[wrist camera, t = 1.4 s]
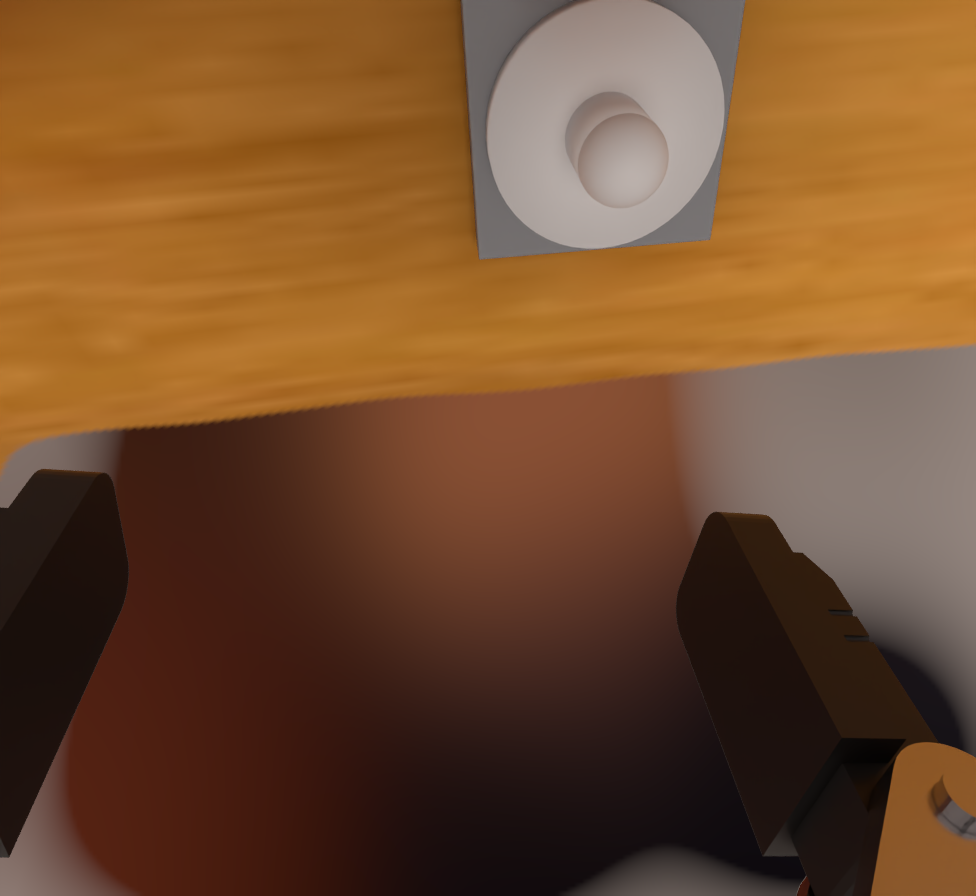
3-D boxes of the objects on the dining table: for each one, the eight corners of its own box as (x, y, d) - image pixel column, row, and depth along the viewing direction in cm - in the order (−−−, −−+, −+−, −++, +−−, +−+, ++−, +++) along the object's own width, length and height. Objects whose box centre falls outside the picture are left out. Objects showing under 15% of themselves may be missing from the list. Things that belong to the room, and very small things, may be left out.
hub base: (433, -394, 18) (441, -482, 14) (784, -416, 19) (917, -511, 14) (477, 243, 29) (489, 323, 24) (698, 224, 30) (755, 299, 25)
